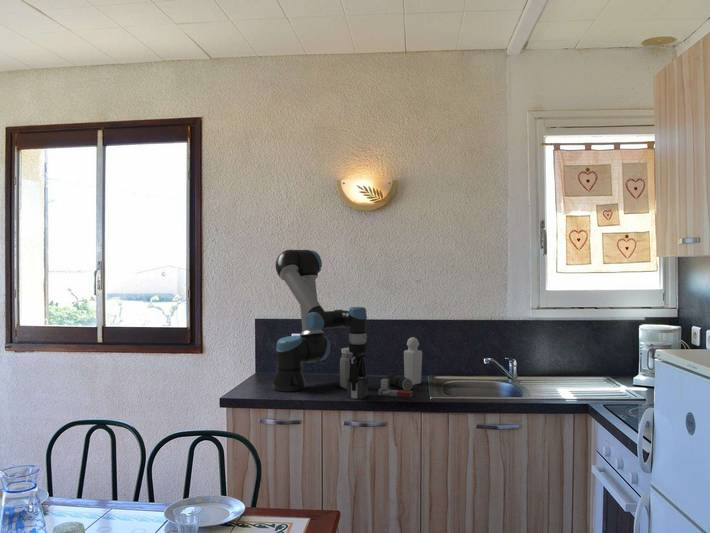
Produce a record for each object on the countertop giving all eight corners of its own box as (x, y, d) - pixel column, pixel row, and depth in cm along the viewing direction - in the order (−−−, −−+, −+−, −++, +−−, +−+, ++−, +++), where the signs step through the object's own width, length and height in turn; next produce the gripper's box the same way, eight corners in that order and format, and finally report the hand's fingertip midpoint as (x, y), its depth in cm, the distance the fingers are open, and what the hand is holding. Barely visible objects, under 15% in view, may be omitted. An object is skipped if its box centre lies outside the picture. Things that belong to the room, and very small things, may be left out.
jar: (339, 389, 246) (339, 350, 246) (340, 385, 256) (340, 347, 256) (361, 389, 246) (361, 350, 246) (360, 385, 256) (360, 347, 256)
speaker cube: (347, 397, 232) (347, 378, 232) (352, 394, 238) (352, 375, 238) (362, 399, 229) (362, 379, 229) (367, 395, 236) (367, 376, 236)
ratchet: (376, 395, 236) (376, 380, 236) (380, 392, 242) (380, 377, 242) (409, 398, 231) (409, 383, 231) (413, 395, 237) (413, 380, 237)
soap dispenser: (412, 380, 265) (412, 336, 265) (422, 383, 260) (422, 337, 260) (403, 382, 260) (403, 337, 260) (413, 385, 256) (413, 338, 255)
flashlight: (384, 384, 258) (384, 373, 258) (394, 383, 260) (394, 372, 260) (402, 391, 244) (402, 379, 244) (412, 389, 247) (412, 378, 247)
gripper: (358, 346, 223) (357, 402, 223) (373, 340, 242) (372, 391, 242) (341, 345, 226) (340, 400, 226) (357, 339, 244) (357, 390, 244)
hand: (357, 395), depth 234 cm, fingers closed on speaker cube, 7 cm apart
